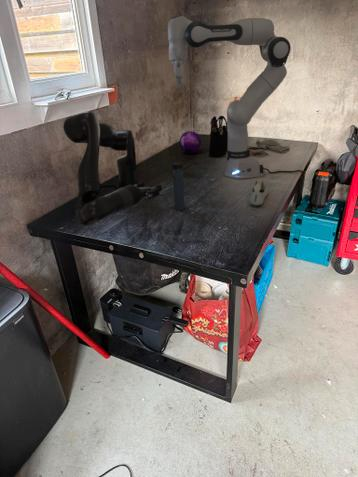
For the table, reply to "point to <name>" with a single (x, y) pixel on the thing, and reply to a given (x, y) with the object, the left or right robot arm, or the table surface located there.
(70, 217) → the table surface
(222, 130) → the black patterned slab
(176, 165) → the cap
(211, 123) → the boot
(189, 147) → the decorative orb
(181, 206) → the bottle
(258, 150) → the pair of gloves
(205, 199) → the table surface
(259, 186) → the ballet flat
